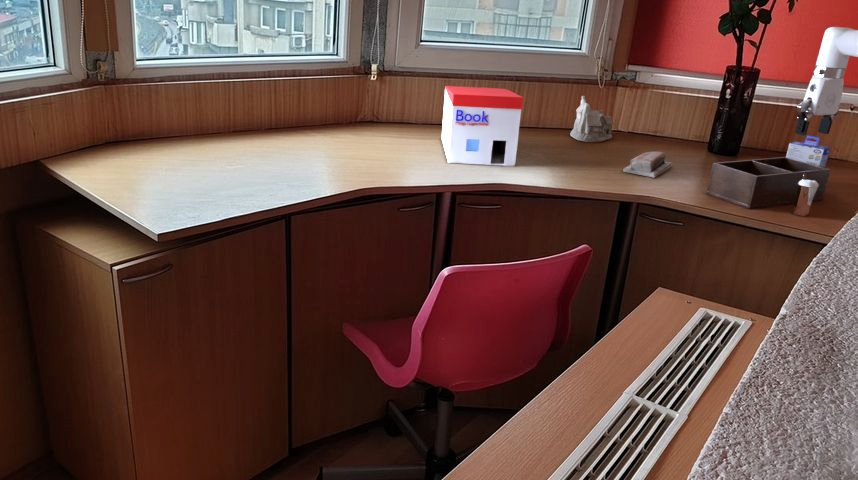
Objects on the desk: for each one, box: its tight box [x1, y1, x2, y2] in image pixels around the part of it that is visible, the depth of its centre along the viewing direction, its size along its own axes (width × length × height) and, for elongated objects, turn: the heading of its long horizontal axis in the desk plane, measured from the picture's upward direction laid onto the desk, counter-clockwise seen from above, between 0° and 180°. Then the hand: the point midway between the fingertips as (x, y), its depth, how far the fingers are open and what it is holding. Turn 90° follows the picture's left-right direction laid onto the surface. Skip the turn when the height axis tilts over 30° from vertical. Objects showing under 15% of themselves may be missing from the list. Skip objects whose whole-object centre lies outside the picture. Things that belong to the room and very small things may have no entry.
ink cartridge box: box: [785, 134, 831, 168], centre depth 211 cm, size 10×6×14 cm, turn 42°
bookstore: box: [441, 85, 524, 167], centre depth 232 cm, size 21×35×21 cm, turn 0°
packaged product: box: [622, 150, 673, 178], centre depth 222 cm, size 18×5×10 cm
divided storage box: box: [706, 156, 832, 210], centre depth 198 cm, size 15×28×9 cm, turn 114°
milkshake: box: [792, 174, 819, 217], centre depth 184 cm, size 4×5×10 cm
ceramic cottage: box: [569, 95, 613, 143], centre depth 263 cm, size 16×16×15 cm
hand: (811, 133), depth 208 cm, fingers open, 9 cm apart
